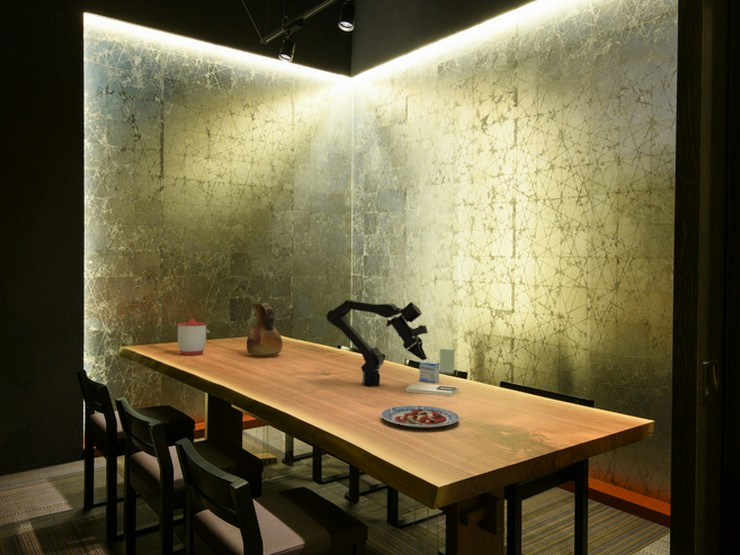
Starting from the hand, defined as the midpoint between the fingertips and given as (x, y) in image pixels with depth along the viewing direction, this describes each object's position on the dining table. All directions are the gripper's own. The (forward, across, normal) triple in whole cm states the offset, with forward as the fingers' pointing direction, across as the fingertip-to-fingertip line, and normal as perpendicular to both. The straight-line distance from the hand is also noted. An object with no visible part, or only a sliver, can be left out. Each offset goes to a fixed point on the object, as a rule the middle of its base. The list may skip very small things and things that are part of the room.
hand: (424, 359), depth 239 cm
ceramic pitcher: (-56, +66, +78) cm, 117 cm away
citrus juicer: (-80, +59, +110) cm, 148 cm away
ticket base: (+12, +1, +5) cm, 13 cm away
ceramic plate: (+18, -46, +9) cm, 50 cm away
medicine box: (+8, +20, +6) cm, 23 cm away
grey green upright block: (+10, -2, -4) cm, 11 cm away
